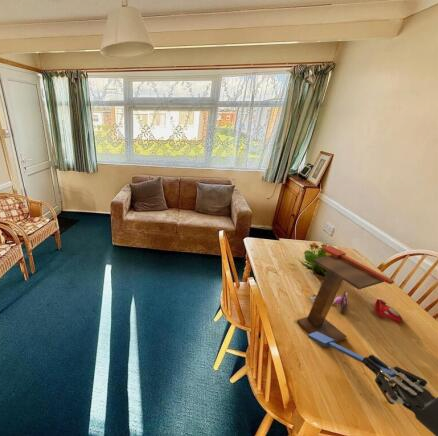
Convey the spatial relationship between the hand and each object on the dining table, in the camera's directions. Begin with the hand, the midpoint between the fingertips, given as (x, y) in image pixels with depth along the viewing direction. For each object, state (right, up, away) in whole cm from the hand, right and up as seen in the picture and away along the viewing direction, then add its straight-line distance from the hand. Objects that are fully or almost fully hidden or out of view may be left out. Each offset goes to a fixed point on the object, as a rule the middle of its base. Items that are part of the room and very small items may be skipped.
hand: (366, 357), depth 65 cm
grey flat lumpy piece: (+19, 0, +44) cm, 47 cm away
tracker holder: (+45, -3, +38) cm, 59 cm away
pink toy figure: (+27, -1, +41) cm, 49 cm away
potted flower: (+35, +8, +62) cm, 71 cm away
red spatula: (+13, +24, +19) cm, 33 cm away
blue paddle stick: (-2, -2, +6) cm, 6 cm away
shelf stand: (+9, -7, +30) cm, 32 cm away
